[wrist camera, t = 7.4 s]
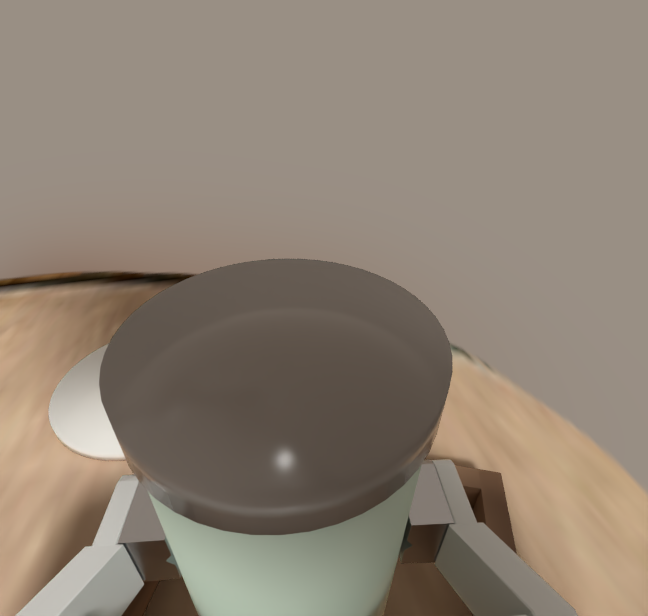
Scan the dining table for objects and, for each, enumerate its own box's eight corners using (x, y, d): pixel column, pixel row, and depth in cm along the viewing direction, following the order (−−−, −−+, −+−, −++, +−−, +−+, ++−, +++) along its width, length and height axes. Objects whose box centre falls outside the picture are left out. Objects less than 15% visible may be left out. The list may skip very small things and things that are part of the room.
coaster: (5, 441, 22) (0, 434, 22) (125, 326, 31) (123, 320, 30) (189, 477, 20) (186, 470, 20) (259, 344, 29) (258, 338, 29)
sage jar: (182, 708, 11) (-3, 440, 5) (248, 522, 16) (201, 248, 9) (370, 763, 10) (472, 535, 4) (384, 551, 15) (442, 273, 8)
